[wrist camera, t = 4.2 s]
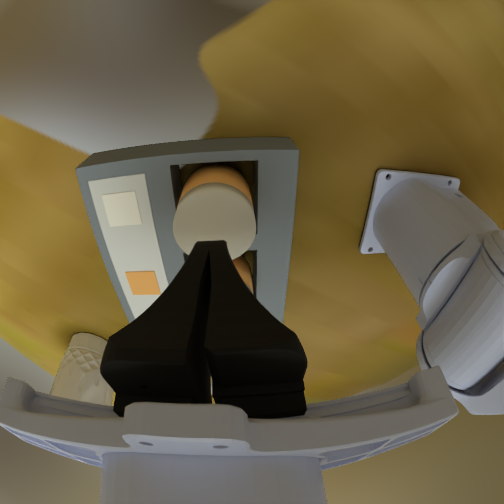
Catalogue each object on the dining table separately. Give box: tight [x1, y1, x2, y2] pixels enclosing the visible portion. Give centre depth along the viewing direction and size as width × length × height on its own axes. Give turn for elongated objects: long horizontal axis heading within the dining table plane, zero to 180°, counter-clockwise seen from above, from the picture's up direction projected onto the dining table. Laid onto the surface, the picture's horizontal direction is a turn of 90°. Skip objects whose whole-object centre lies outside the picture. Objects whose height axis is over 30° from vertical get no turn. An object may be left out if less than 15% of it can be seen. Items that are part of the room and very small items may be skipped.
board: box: [75, 137, 299, 324], centre depth 24 cm, size 14×26×3 cm, turn 0°
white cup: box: [49, 333, 114, 406], centre depth 27 cm, size 8×8×10 cm
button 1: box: [173, 164, 256, 260], centre depth 16 cm, size 4×4×4 cm
